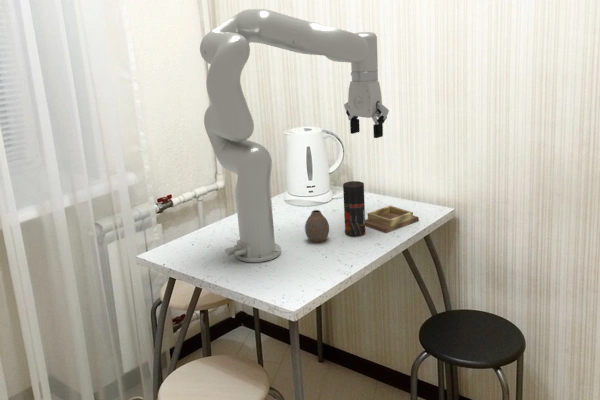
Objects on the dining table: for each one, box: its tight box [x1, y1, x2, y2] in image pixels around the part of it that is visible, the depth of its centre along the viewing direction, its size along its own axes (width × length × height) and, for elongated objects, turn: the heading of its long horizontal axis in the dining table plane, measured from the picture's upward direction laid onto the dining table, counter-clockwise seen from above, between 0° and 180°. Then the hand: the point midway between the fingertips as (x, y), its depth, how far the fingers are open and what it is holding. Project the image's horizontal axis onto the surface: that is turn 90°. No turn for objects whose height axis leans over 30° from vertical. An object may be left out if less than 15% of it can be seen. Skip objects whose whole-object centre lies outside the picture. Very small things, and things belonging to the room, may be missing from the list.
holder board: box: [365, 205, 420, 234], centre depth 199 cm, size 14×10×3 cm
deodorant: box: [342, 180, 366, 238], centre depth 191 cm, size 6×6×15 cm
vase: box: [304, 209, 330, 243], centre depth 189 cm, size 7×7×9 cm
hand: (366, 135), depth 195 cm, fingers open, 9 cm apart
